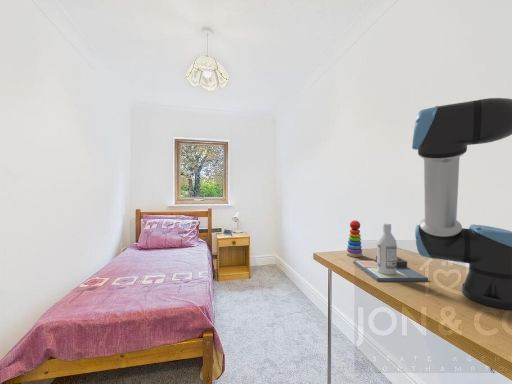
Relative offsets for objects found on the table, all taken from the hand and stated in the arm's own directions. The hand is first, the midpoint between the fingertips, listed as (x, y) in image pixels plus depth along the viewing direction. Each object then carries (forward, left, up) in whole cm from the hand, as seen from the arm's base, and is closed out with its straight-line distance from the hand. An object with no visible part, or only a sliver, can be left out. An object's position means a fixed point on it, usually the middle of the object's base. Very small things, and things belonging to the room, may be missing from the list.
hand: (441, 200), depth 107 cm
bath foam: (-9, +30, -29) cm, 43 cm away
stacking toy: (+20, +31, -31) cm, 48 cm away
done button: (+1, +22, -28) cm, 36 cm away
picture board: (-4, +27, -30) cm, 41 cm away
